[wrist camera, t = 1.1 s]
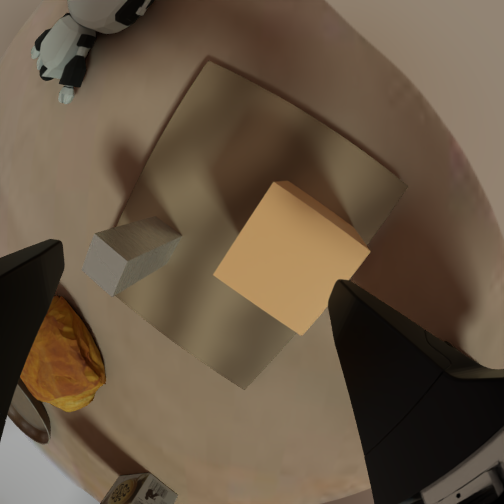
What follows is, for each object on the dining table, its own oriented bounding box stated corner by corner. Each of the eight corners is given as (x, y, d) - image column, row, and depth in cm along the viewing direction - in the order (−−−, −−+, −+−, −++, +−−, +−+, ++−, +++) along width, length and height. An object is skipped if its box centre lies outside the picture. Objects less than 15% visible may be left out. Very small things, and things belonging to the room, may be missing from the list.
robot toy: (87, 114, 23) (195, -11, 18) (52, 112, 19) (169, -35, 14) (46, 57, 23) (129, -47, 17) (16, 52, 19) (104, -63, 13)
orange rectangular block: (354, 227, 19) (370, 251, 13) (307, 289, 21) (301, 336, 14) (288, 180, 19) (273, 181, 13) (244, 245, 21) (212, 274, 15)
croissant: (65, 380, 35) (35, 415, 28) (13, 285, 30) (-29, 315, 23) (138, 393, 31) (106, 442, 24) (77, 274, 26) (21, 315, 19)
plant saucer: (7, 342, 34) (-6, 350, 31) (72, 432, 36) (62, 443, 33) (-12, 367, 40) (-21, 373, 37) (40, 438, 41) (32, 446, 38)
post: (182, 235, 22) (127, 261, 15) (167, 264, 22) (112, 297, 16) (155, 216, 22) (94, 233, 15) (141, 244, 23) (81, 269, 16)
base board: (403, 185, 19) (408, 186, 18) (247, 381, 25) (244, 389, 24) (213, 65, 19) (208, 60, 18) (103, 274, 26) (95, 278, 24)
